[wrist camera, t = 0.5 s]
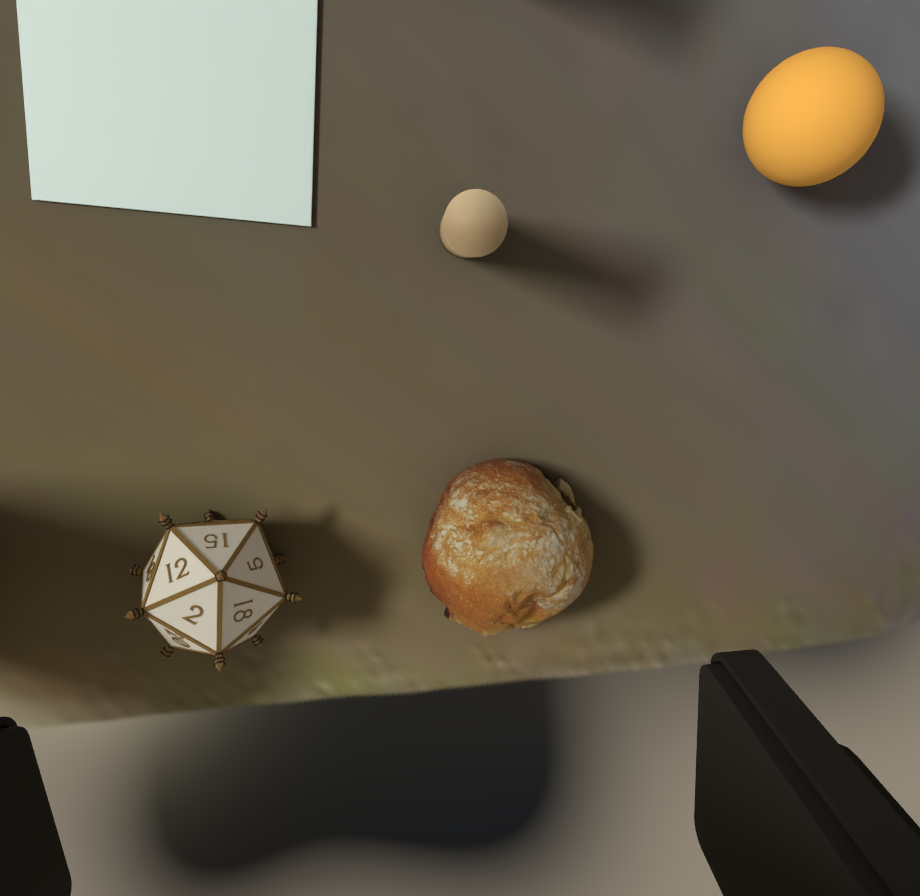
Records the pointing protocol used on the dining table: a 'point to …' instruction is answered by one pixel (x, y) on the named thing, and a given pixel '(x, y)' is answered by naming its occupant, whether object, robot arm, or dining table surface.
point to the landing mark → (172, 105)
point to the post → (473, 224)
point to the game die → (211, 585)
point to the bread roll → (506, 547)
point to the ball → (813, 116)
